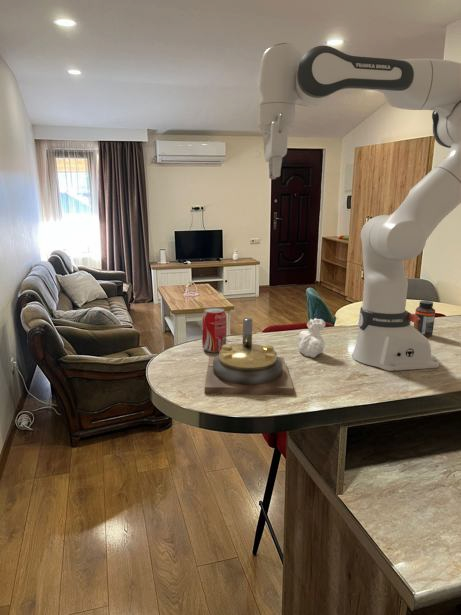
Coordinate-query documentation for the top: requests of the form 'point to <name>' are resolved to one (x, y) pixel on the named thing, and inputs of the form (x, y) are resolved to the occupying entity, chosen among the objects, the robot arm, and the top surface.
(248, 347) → the gold dial with handle
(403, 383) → the top surface
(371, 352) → the robot arm
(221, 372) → the cap housing
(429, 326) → the supplement bottle
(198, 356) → the top surface
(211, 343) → the soda can
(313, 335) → the white tied sack
